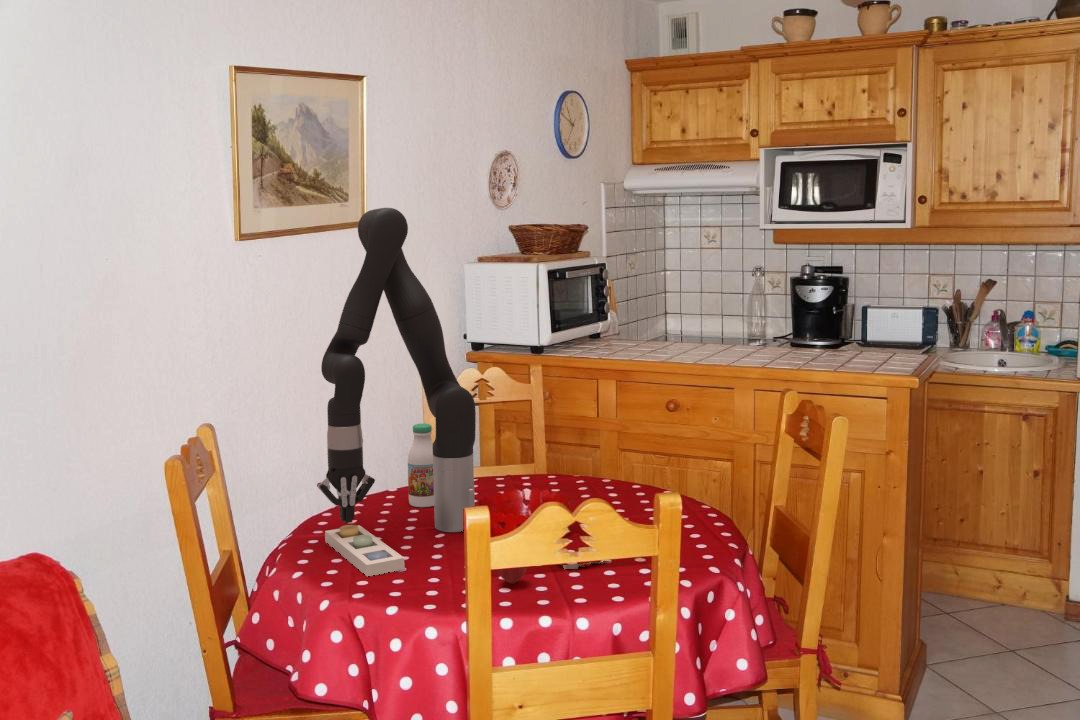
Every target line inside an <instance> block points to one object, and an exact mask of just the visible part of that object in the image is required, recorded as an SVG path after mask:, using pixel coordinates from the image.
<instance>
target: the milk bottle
mask: <svg viewBox="0 0 1080 720" xmlns="http://www.w3.org/2000/svg"><path fill="white" fill-rule="evenodd" d="M432 428H433V427H432V424H430V423H416V424H413V426H412V435H413V440H412V441H413V442H412V444H411V447H410V449H409V450H408V451H409V452H408V455H407V456H408V457H407V485H408V486H407V488H408V489H407V490H408V502H409V505H410V506H412V507H415V508H430V507H434V480H433V442H434V441H433V440H432V434H433V432H432V430H433V429H432Z"/></svg>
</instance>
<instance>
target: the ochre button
mask: <svg viewBox="0 0 1080 720" xmlns="http://www.w3.org/2000/svg"><path fill="white" fill-rule="evenodd" d="M339 529H340V537H341V538H347V537H353V536H359V533H358V525H355V524H346V525H342V526H340V527H339Z"/></svg>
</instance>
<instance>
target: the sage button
mask: <svg viewBox="0 0 1080 720" xmlns="http://www.w3.org/2000/svg"><path fill="white" fill-rule="evenodd" d="M371 546H373V544H372V536H369V535H360V536H356V537H354V538H353V547H354V548H355V549H360V548H365V547H371Z"/></svg>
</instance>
